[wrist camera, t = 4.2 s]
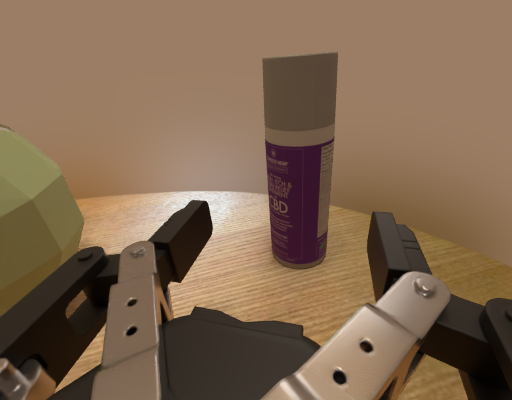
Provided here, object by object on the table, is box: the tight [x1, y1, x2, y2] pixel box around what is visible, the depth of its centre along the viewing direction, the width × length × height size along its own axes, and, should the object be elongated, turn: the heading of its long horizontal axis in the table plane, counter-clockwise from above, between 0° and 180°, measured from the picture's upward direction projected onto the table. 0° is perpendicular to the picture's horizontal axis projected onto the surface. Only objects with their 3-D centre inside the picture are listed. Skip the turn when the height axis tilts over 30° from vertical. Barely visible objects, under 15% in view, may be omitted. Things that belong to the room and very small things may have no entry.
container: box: [262, 52, 338, 269], centre depth 19 cm, size 5×5×15 cm
